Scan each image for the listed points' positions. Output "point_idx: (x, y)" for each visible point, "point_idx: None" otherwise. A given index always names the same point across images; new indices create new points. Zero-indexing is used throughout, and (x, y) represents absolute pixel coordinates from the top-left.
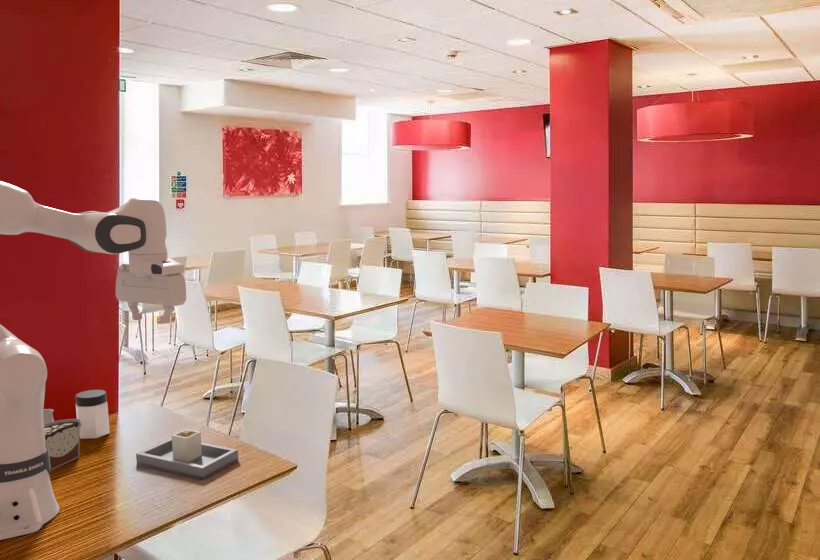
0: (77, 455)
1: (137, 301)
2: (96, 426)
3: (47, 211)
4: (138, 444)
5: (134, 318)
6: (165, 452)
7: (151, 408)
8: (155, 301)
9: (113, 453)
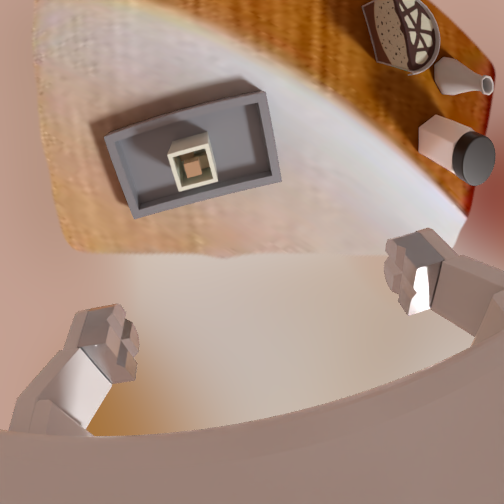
0: (378, 59)
1: (436, 374)
2: (430, 134)
3: None
4: (343, 147)
5: (412, 235)
6: (259, 146)
7: None
8: (71, 465)
9: (344, 99)
